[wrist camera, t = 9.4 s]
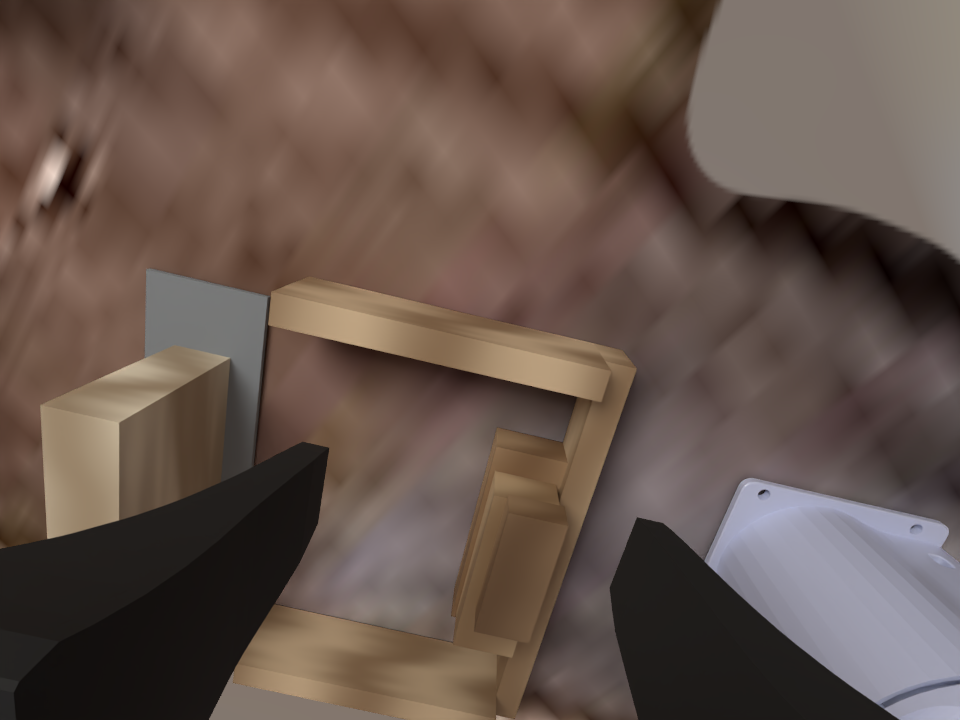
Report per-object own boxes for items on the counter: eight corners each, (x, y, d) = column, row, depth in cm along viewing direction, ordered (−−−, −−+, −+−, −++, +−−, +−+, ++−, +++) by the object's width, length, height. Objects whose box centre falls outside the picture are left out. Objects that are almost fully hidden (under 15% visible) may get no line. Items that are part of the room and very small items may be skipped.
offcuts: (562, 442, 22) (578, 505, 18) (513, 600, 25) (515, 690, 20) (497, 427, 22) (495, 487, 18) (454, 587, 25) (443, 674, 20)
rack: (622, 350, 21) (644, 379, 17) (513, 674, 26) (515, 742, 23) (309, 276, 20) (271, 291, 17) (267, 620, 26) (232, 682, 23)
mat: (270, 296, 21) (267, 297, 20) (240, 597, 26) (238, 600, 25) (150, 268, 21) (146, 269, 20) (144, 576, 26) (140, 579, 25)
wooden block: (230, 357, 21) (119, 422, 15) (216, 547, 24) (118, 665, 18) (174, 345, 21) (39, 405, 15) (167, 536, 24) (53, 651, 18)
